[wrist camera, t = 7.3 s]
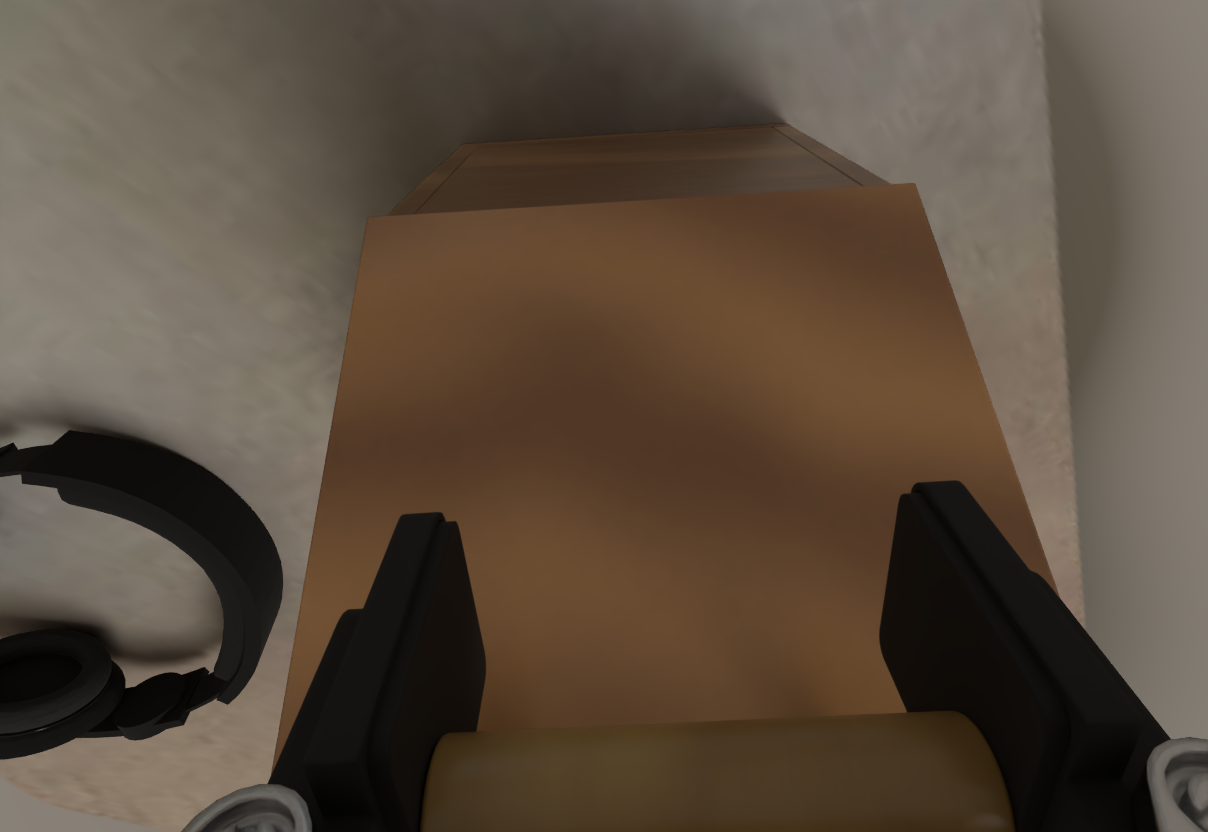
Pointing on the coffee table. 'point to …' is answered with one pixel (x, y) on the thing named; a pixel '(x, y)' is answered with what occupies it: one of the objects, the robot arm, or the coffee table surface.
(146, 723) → the headphones
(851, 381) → the lid
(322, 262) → the coffee table surface
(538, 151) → the chest
